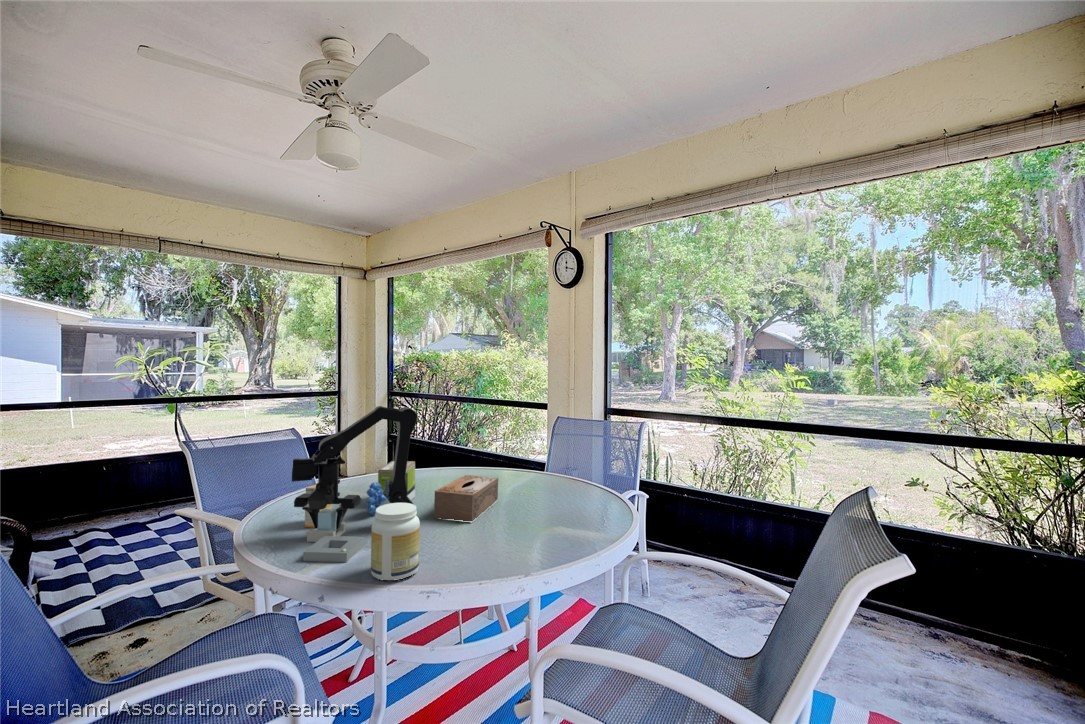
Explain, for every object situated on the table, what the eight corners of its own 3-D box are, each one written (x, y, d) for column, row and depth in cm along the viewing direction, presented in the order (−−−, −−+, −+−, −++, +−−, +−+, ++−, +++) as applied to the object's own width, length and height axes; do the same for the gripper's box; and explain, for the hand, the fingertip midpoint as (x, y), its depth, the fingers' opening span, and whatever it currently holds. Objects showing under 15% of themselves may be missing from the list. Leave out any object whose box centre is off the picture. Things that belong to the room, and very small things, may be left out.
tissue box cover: (472, 524, 163) (472, 495, 163) (434, 519, 166) (434, 491, 166) (497, 502, 188) (498, 477, 188) (464, 499, 191) (464, 474, 191)
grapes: (380, 521, 162) (381, 486, 162) (360, 520, 163) (361, 485, 163) (392, 510, 174) (392, 478, 174) (373, 509, 174) (374, 477, 174)
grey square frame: (345, 531, 152) (346, 522, 152) (332, 542, 143) (333, 532, 143) (321, 530, 152) (321, 521, 152) (306, 541, 143) (307, 531, 143)
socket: (363, 545, 141) (364, 535, 141) (346, 562, 129) (346, 551, 129) (324, 544, 141) (324, 534, 141) (303, 560, 129) (303, 550, 129)
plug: (336, 534, 149) (336, 509, 149) (330, 539, 145) (330, 513, 145) (323, 533, 150) (324, 508, 150) (317, 538, 146) (318, 512, 146)
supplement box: (316, 528, 154) (317, 488, 154) (304, 527, 155) (304, 487, 155) (333, 520, 162) (333, 482, 162) (320, 519, 163) (321, 481, 163)
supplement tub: (425, 563, 130) (426, 502, 130) (409, 584, 118) (411, 516, 118) (381, 561, 130) (383, 500, 130) (362, 581, 118) (363, 514, 118)
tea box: (391, 496, 192) (392, 460, 192) (415, 497, 192) (416, 460, 192) (376, 507, 177) (377, 468, 177) (403, 508, 177) (404, 469, 177)
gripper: (284, 484, 140) (283, 537, 140) (346, 486, 139) (345, 539, 139) (304, 475, 151) (302, 524, 151) (361, 476, 150) (360, 525, 150)
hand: (327, 528), depth 148 cm, fingers open, 6 cm apart
